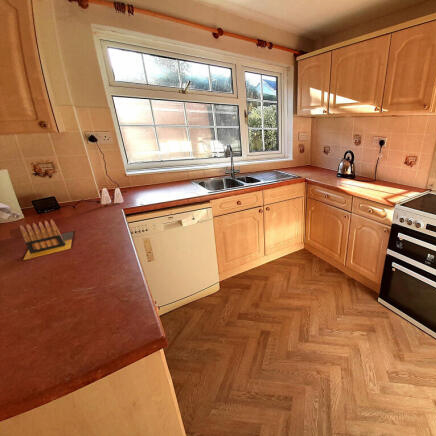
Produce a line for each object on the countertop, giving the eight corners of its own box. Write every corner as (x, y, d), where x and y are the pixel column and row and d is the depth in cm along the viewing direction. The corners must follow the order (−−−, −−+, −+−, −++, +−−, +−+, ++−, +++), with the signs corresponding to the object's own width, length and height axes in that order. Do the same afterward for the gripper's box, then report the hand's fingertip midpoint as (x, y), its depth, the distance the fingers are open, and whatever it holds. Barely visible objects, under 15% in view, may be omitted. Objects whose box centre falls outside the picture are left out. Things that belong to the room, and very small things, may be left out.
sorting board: (24, 262, 93) (22, 259, 93) (34, 242, 110) (33, 239, 109) (71, 250, 101) (70, 248, 101) (74, 233, 118) (73, 231, 117)
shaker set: (102, 206, 155) (96, 190, 151) (102, 205, 158) (96, 188, 154) (124, 202, 162) (119, 186, 157) (123, 201, 165) (118, 185, 160)
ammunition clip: (65, 243, 105) (54, 218, 100) (65, 245, 103) (53, 219, 99) (31, 252, 99) (17, 225, 94) (30, 253, 97) (16, 226, 93)
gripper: (-30, 206, 90) (18, 223, 98) (-65, 205, 74) (-4, 226, 81) (-18, 191, 92) (29, 209, 99) (-50, 187, 75) (9, 209, 82)
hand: (14, 217), depth 90 cm, fingers open, 8 cm apart
